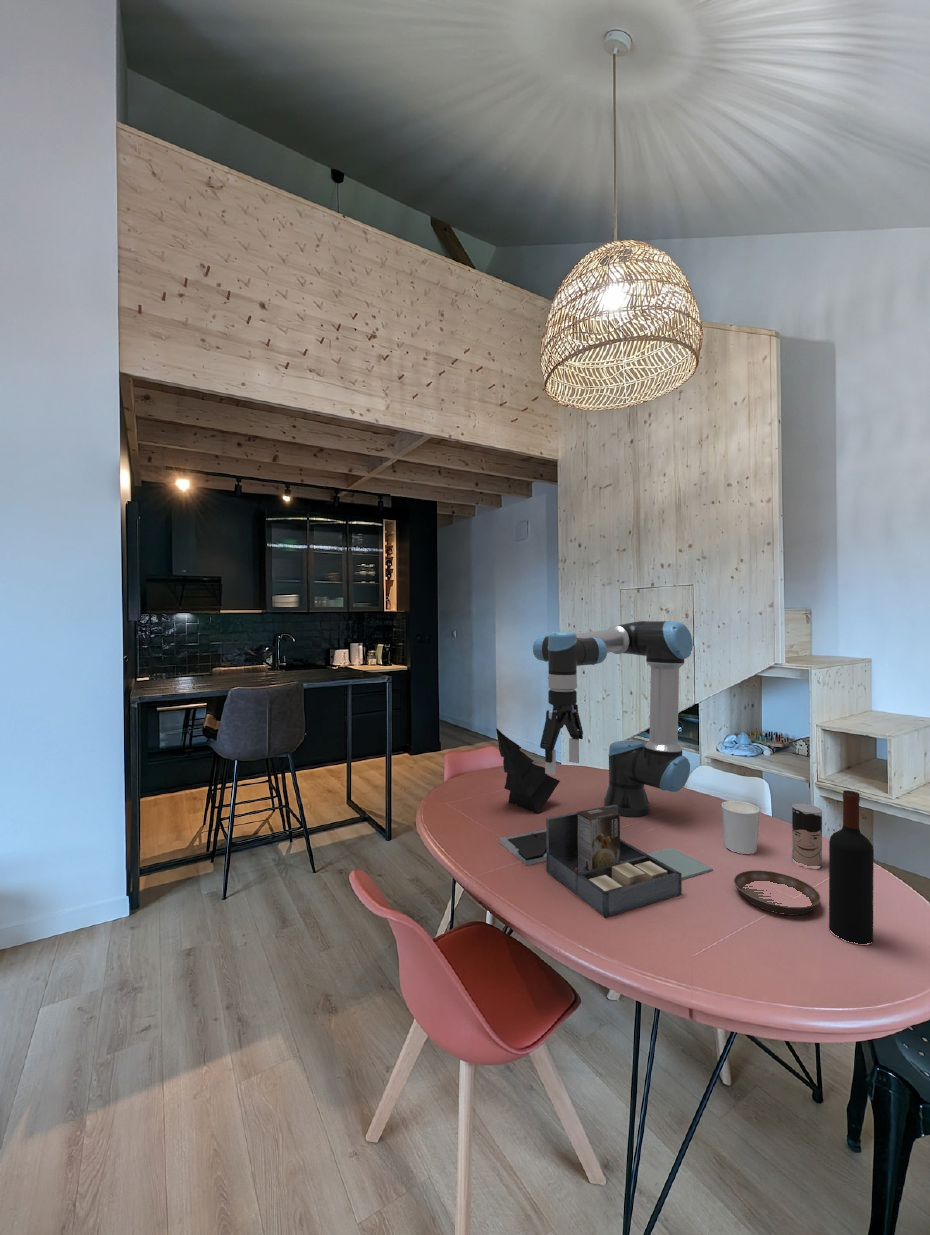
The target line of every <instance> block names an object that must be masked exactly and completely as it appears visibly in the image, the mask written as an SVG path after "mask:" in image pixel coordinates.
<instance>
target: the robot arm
mask: <svg viewBox="0 0 930 1235" xmlns="http://www.w3.org/2000/svg"><path fill="white" fill-rule="evenodd" d="M693 646H694V644H693V637H692V634H691V632H690V630H689V629H688V627H687V626H686V624H684V623H682V622H680V621H670V620H669V621H667V620H666V621H665V620H664V621H662V620H659V621H657V620H656V621H651V620H639V621H638V620H637V621H633V622H628V623H627V622H626V623H623V624H618V625H612V626H610V627H609V628H608V629H604V630H603V629H602V630H595V631H585V632H578V633H575V632H574V631H573V632H570V631H559V632H557V631H553V632H551V633H550V634H548V635H544V636H538V637H537V638H536V639H535V640H534V642H533V645H532V653H533V655H534V657H535V658H536V659H537V660H538V661H541V662H542V661H543V662H546V663H547V662H548V664H547V665H548V676H547V679H548V688H549V690H548V694H547V695H548V698H547V699H548V700H547V701H548V702H547V703H548V704H549V705H552V710H549V709H547V710H546V713H545V722H544V725H543V731H542V735H541V739H540V744H539V748H540V749H543V750H544V760H545V762H544V764H545V765H544V768H545V774H548V775H549V776H556V775H557V765H556V764H557V762H556V761H557V760H556V759H557V758H556V757H557V749H555V746H556V744H557V741H558V738H559V735H560V731H561V729H562V728H564V726H565V728H566V730H567V732H568V734H569V736H570V738H568V762H569V763H574V764H579V763H580V740H583V738H584V737H583V735H584V730H583V727H582V722H581V718H580V713H579V706H578V705H579V704H577V701H578V700H577V699H578V698H577V695H578V692H577V690H576V689H577V688H578V680H577V679H578V678H577V677H578V675H577V673H578V672H577V669H578V667H580V666H595V665H599V664H601V663H603V662H604V661H605V659H607V655H608V653H613V654H615V655H620V654H624V655H626V654H627V655H628V654H629V655H636V656H643V657H646V659H645V662H646V664H647V665H648V666H649V667H650V689H649V690H650V694H649V695H650V698H649V699H650V700H649V701H650V702H649V703H650V704H649V740H648V741H647V742H646V743H644V741H642V740H633V739H632V740H629V739H627V740H618V741H614V742H612V743H611V744H609V747H608V748H609V749H608V755H607V756H608V787H607V791H606V794H605V797H604V800H603V807H606V806H611V805H618V814H620V816H622V817H631V818H632V817H635V818H636V817H642V816H643V817H644V816H647V815H648V814H649V813H650V812H651V806H650V805H651V804H650V802H649V799H648V795H647V792H646V789H645V788H646V787H645V785H646V786H648V787H653V788H657V789H660V790H661V791H668V792H672V793H675V792H678V791H681V790H682V789H683V788H684V787H685V786H686V783H687V782H688V780H689V777H690V773H691V763H690V760H689V758H687V757H686V756H684V755H683V747H682V746H681V745H680V744H679V742H678V739H679V738H678V736H679V733H678V732H679V697H680V696H679V694H680V693H679V688H680V685H679V684H680V682H679V681H680V668H682V667H683V666H684V664H685V659H688V658H689V657H690V656H691V654H692V651H693Z"/></svg>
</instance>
